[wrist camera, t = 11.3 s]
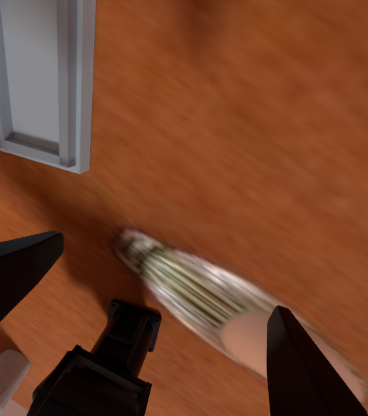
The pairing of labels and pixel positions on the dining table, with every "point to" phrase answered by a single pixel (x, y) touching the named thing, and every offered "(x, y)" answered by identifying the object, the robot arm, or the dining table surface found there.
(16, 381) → the house plant
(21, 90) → the two-compartment grey tray
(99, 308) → the dining table surface
